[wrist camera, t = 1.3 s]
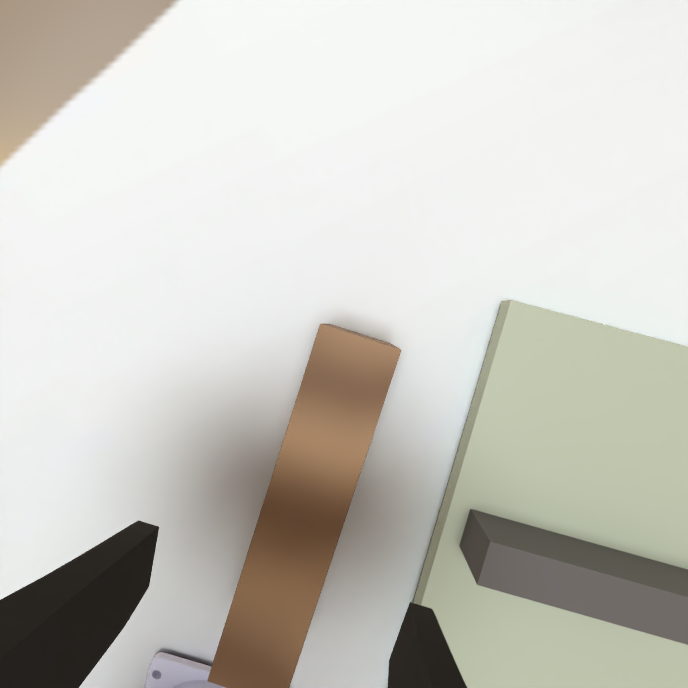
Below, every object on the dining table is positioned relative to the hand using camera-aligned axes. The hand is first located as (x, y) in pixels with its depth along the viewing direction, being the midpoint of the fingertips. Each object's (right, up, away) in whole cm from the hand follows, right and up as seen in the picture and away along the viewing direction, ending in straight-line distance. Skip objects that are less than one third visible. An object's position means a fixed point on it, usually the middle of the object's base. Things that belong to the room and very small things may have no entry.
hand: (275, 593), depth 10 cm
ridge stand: (+14, -4, +10) cm, 17 cm away
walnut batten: (0, 0, +10) cm, 10 cm away
